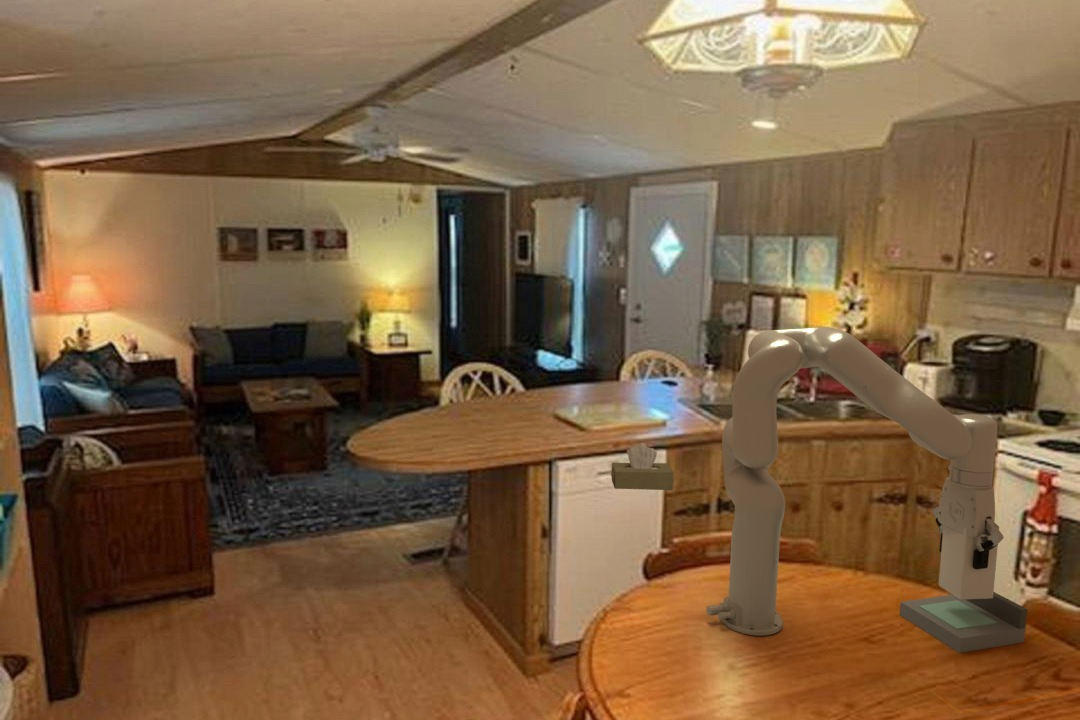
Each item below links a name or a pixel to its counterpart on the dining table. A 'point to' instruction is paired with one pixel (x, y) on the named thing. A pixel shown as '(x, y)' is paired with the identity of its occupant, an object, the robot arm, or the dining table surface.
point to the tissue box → (642, 471)
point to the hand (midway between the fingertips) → (962, 559)
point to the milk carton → (965, 567)
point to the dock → (968, 621)
